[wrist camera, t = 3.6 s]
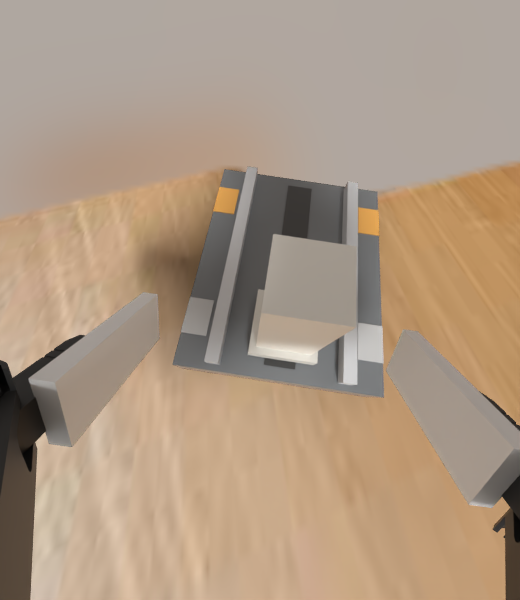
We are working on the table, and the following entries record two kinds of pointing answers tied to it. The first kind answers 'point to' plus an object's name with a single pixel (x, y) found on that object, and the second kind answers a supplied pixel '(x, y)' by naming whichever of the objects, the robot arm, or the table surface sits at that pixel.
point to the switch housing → (253, 272)
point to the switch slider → (304, 299)
